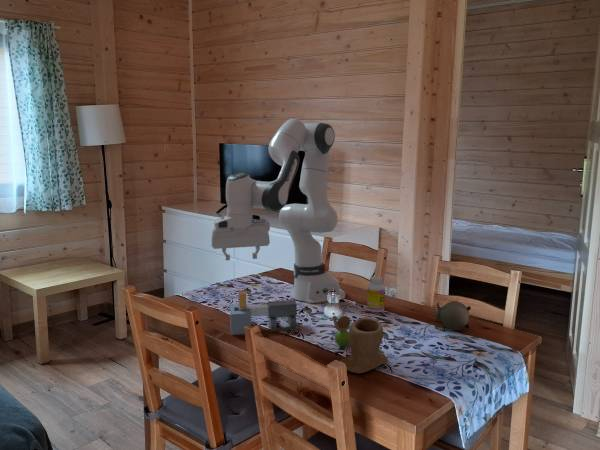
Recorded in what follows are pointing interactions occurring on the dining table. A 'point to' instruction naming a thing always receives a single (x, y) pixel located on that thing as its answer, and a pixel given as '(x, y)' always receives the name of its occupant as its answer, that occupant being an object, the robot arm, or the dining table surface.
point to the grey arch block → (282, 313)
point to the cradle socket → (239, 319)
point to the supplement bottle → (376, 295)
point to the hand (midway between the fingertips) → (241, 259)
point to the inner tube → (252, 306)
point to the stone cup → (365, 346)
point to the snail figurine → (342, 330)
